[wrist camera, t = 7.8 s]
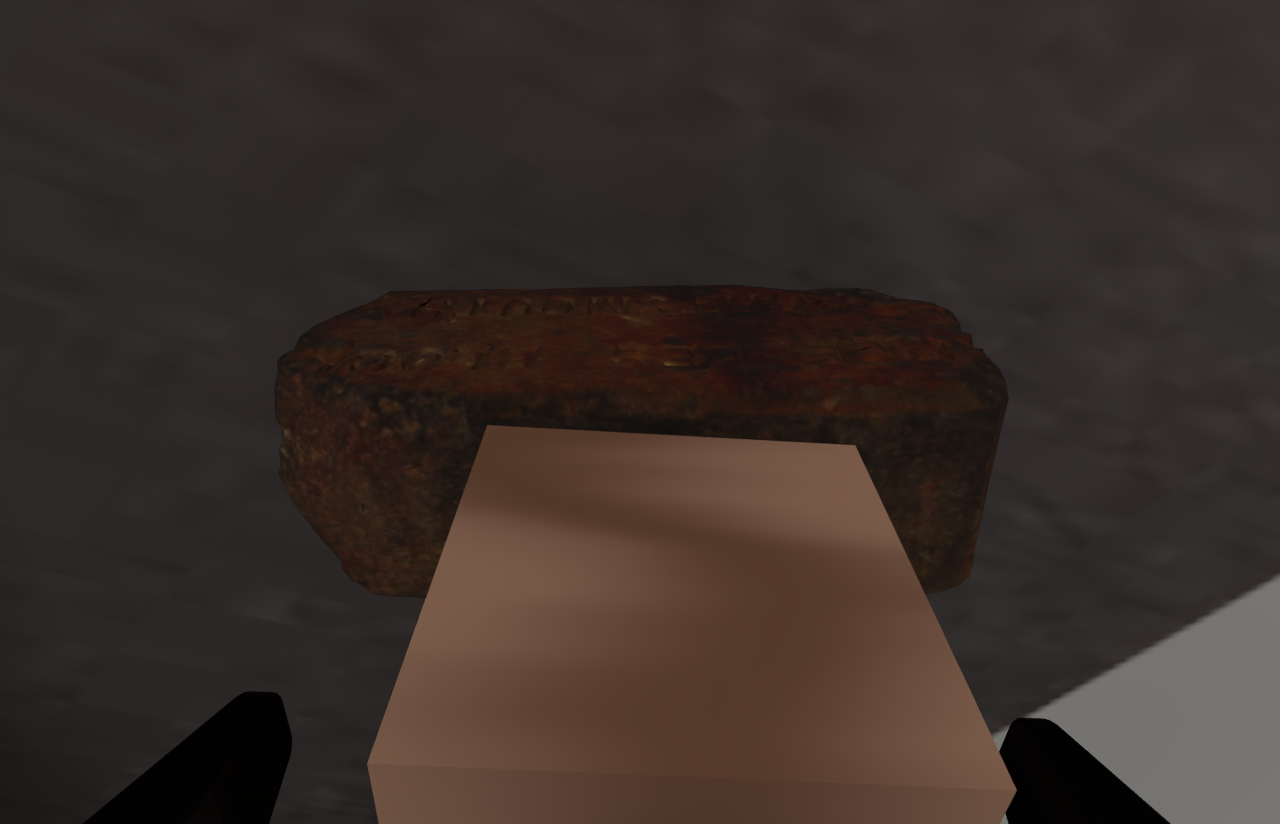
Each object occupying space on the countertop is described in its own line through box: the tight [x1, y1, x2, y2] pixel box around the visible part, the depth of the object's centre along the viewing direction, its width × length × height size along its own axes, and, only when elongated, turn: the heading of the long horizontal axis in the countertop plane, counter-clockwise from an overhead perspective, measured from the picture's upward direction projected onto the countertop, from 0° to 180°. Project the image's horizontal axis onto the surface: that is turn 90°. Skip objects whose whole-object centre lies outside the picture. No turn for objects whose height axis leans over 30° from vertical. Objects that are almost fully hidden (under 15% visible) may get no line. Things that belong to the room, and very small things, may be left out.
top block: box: [367, 425, 1017, 824], centre depth 9 cm, size 5×5×5 cm
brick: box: [275, 285, 1009, 598], centre depth 13 cm, size 11×4×5 cm, turn 91°
